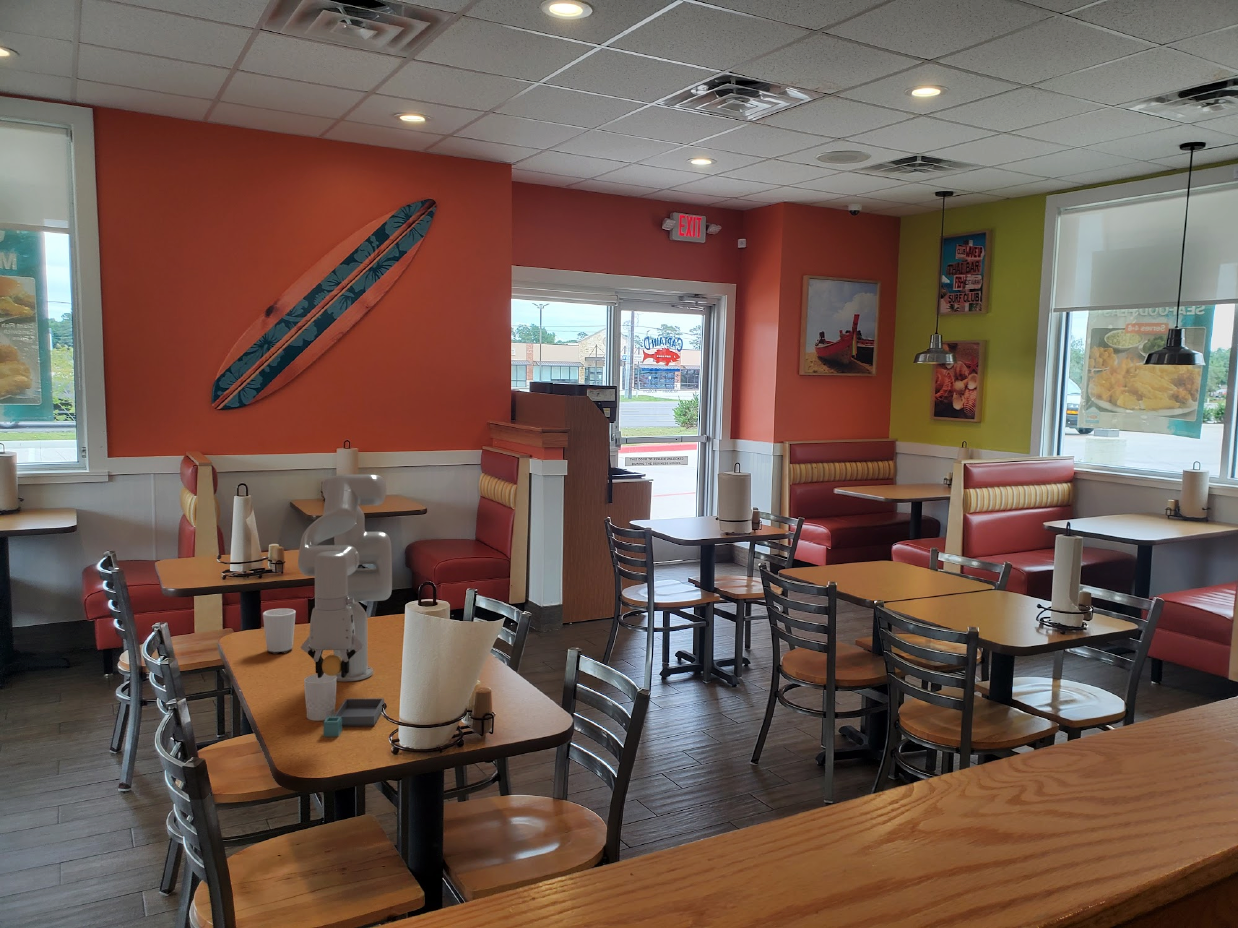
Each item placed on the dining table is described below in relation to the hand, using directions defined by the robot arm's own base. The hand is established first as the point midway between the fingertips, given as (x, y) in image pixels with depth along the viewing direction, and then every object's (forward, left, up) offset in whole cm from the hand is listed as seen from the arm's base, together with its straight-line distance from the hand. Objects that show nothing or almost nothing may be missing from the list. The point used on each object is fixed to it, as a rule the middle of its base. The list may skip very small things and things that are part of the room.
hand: (332, 675), depth 214 cm
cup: (-69, -34, -15) cm, 79 cm away
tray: (-10, +4, -14) cm, 18 cm away
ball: (0, 0, +2) cm, 2 cm away
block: (0, 0, -14) cm, 14 cm away
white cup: (-12, -6, -15) cm, 19 cm away
